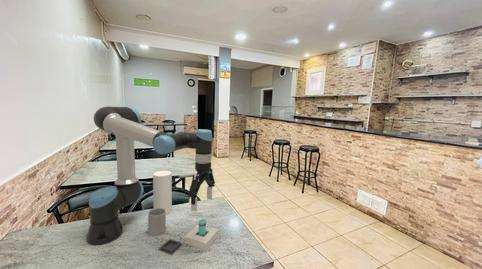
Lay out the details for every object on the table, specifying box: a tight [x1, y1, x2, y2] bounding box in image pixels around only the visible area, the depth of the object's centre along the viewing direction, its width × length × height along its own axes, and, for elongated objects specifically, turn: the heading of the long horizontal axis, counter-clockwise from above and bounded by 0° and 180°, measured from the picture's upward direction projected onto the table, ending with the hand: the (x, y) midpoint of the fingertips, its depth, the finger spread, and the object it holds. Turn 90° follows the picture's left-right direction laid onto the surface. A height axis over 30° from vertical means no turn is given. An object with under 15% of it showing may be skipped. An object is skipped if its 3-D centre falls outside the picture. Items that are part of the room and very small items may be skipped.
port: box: [184, 223, 220, 251], centre depth 100 cm, size 12×12×4 cm
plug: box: [198, 219, 207, 237], centre depth 100 cm, size 4×4×10 cm
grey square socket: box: [157, 238, 184, 256], centre depth 94 cm, size 8×8×2 cm
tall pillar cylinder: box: [152, 170, 173, 216], centre depth 126 cm, size 11×11×25 cm
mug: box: [147, 208, 167, 236], centre depth 107 cm, size 12×8×11 cm
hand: (202, 204), depth 98 cm, fingers open, 13 cm apart
